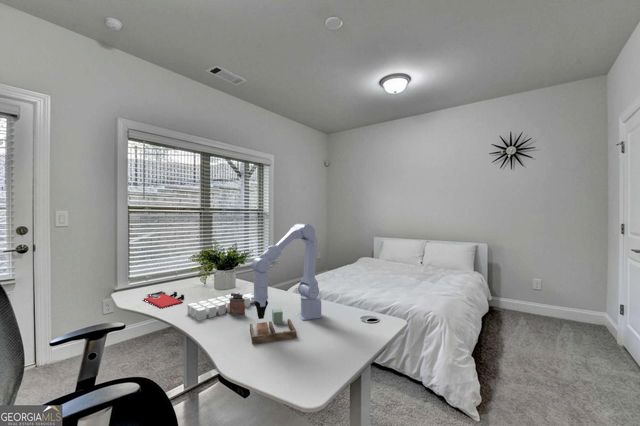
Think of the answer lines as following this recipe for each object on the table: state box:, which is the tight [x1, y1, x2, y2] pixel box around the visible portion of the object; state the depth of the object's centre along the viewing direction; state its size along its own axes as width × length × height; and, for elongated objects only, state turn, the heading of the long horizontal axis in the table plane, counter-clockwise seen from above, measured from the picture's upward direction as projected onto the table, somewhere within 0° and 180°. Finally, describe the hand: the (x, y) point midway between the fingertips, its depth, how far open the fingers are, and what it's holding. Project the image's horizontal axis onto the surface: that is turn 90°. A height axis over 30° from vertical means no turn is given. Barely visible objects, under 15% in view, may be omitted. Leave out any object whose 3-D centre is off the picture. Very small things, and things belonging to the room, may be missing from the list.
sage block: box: [271, 308, 284, 325], centre depth 126 cm, size 4×4×5 cm
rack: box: [249, 318, 298, 345], centre depth 114 cm, size 17×13×3 cm
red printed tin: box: [228, 292, 246, 316], centre depth 136 cm, size 8×3×10 cm, turn 74°
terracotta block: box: [256, 321, 270, 335], centre depth 111 cm, size 4×6×4 cm, turn 18°
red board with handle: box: [143, 290, 185, 309], centre depth 158 cm, size 30×3×15 cm
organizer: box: [186, 292, 255, 321], centre depth 145 cm, size 13×5×35 cm
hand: (261, 318), depth 118 cm, fingers closed
